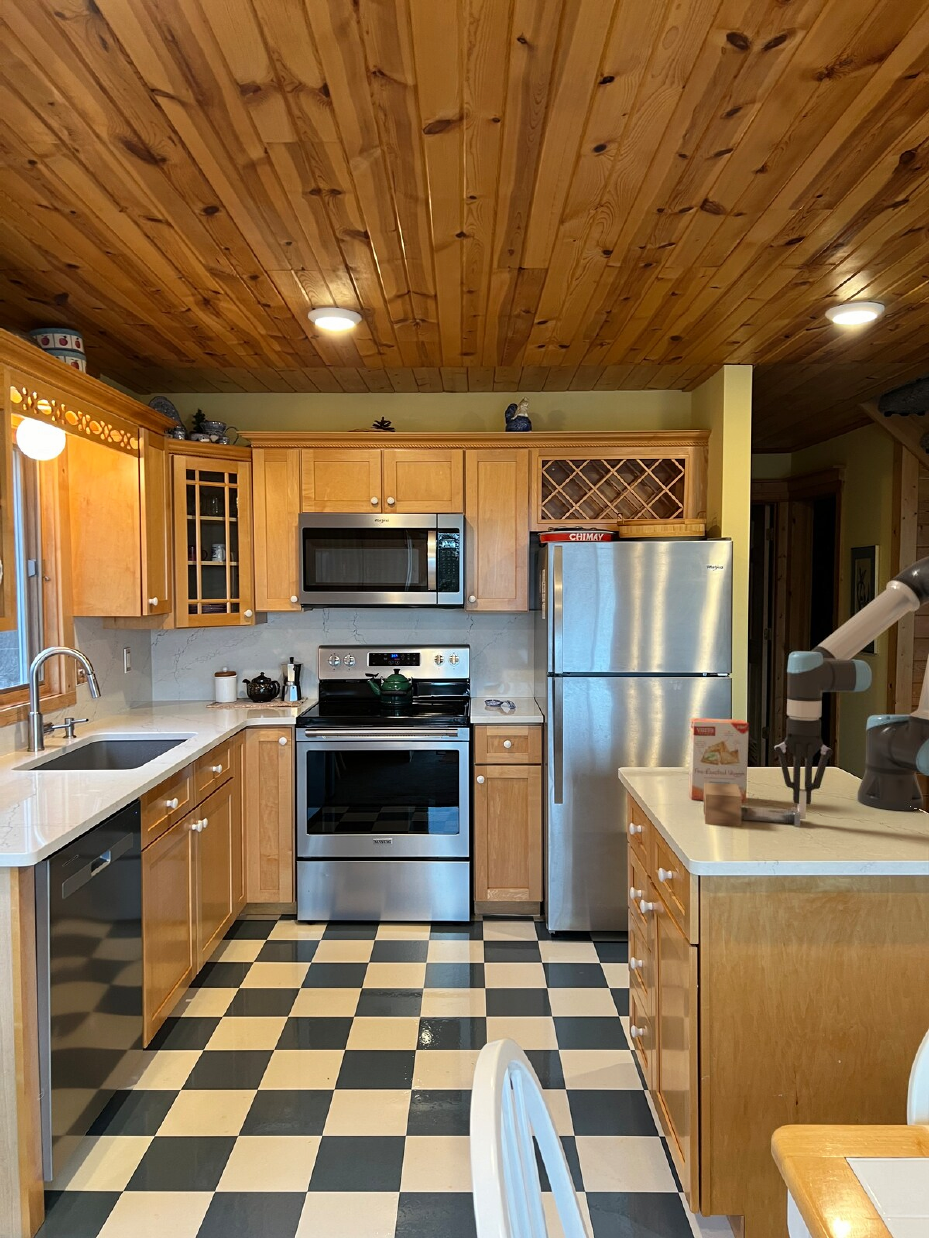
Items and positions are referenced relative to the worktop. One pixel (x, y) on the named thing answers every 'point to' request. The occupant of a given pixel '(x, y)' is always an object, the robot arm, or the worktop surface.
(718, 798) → the block
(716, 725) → the cracker box
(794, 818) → the pin
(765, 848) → the worktop surface
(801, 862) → the worktop surface
